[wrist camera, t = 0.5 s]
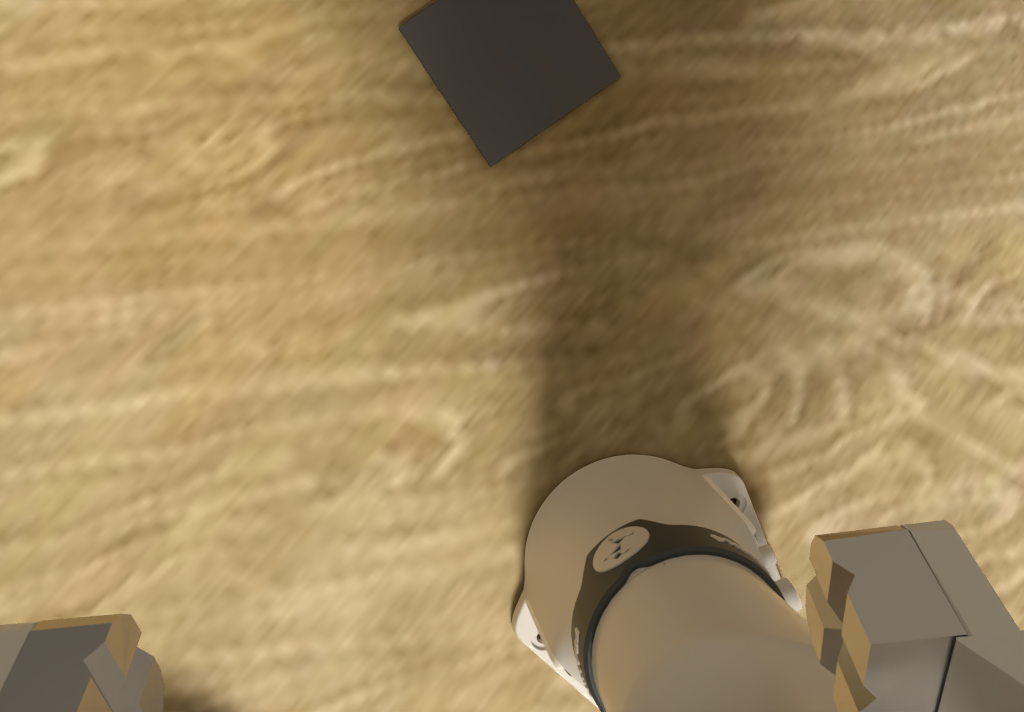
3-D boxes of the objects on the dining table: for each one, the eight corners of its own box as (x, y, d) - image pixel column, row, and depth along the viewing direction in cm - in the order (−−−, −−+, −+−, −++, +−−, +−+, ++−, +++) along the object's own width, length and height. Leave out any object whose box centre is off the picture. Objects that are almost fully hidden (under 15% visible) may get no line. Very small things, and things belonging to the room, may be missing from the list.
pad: (619, 77, 58) (620, 76, 58) (490, 166, 58) (490, 166, 58) (532, -64, 56) (533, -66, 56) (398, 28, 56) (398, 27, 56)
